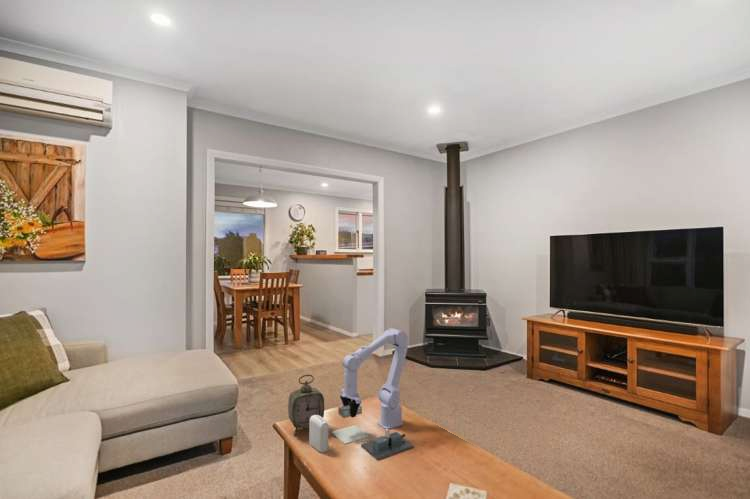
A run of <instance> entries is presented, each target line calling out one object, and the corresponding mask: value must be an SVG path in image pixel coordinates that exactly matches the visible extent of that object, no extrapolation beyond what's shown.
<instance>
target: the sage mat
mask: <svg viewBox="0 0 750 499" xmlns="http://www.w3.org/2000/svg"><path fill="white" fill-rule="evenodd" d="M331 434H333V436H334V437H336V438H337V440H339V441H340V442H341V443H342V444H343V445H348V444H350V443H353V442H358V441H360V440H365V439H367V438H369V437H370V436H369V435H368V434H367V433H366V432H364V431H363V430H362V429H360V428H359V427H358V426H357V425H356V424H354V425H350V426H347V427H344V428H340V429H336V430H333V431H331Z"/></svg>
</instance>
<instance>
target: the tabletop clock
mask: <svg viewBox="0 0 750 499" xmlns="http://www.w3.org/2000/svg"><path fill="white" fill-rule="evenodd" d="M305 377H310V378H312V380H311V381H307V380H305V381H304V382H301V379H302V378H305ZM314 379H315V377H314V375H312V374H303V375H301V376H300V377H299V379H298V383H299V384H300V385H301V387H300V389H297V390H293V391H291V392H290V393H289V397H288V401H287V402H288V403H287V411H288V412H287V413H288V419H289V420H290V422H291V424H292V425H293V427H294V428H295V430H294V431H293V433H292V434H293V436H297V435H298V431H297V430H298V429H304V428H305V429H306V428H309V421H310V418H311V416H313V415H319V416H321V417H322V418H324V416H325V399H324V395H323V393H322V392H321V391H320V390H319V389H318V388H316V387H312V386H311V385H310V384H312V382H314V381H315V380H314Z"/></svg>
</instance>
